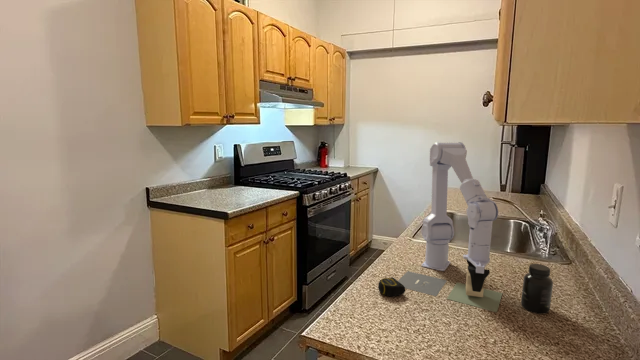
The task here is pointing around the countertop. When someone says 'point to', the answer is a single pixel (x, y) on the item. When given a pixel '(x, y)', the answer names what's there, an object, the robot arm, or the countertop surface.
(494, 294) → the olive mat
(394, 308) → the countertop surface
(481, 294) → the birch block
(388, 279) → the tape measure
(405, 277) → the tile
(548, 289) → the supplement bottle
